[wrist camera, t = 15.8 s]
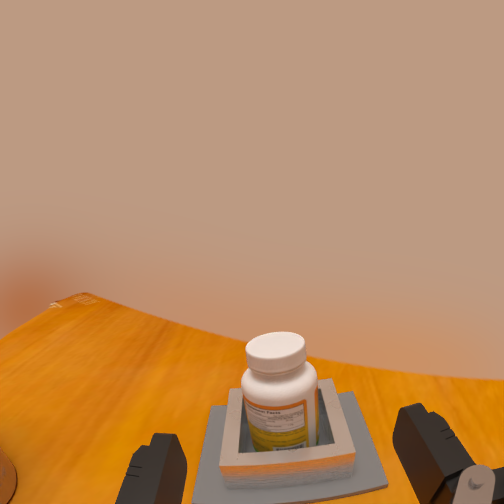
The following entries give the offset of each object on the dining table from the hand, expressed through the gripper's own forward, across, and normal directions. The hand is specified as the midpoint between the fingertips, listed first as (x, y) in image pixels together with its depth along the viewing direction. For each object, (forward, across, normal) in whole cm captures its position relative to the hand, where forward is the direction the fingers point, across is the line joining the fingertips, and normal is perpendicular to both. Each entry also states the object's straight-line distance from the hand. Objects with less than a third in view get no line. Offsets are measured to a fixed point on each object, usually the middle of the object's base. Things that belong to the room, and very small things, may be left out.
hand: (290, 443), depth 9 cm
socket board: (+10, 0, +13) cm, 16 cm away
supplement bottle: (+10, 0, +12) cm, 15 cm away
